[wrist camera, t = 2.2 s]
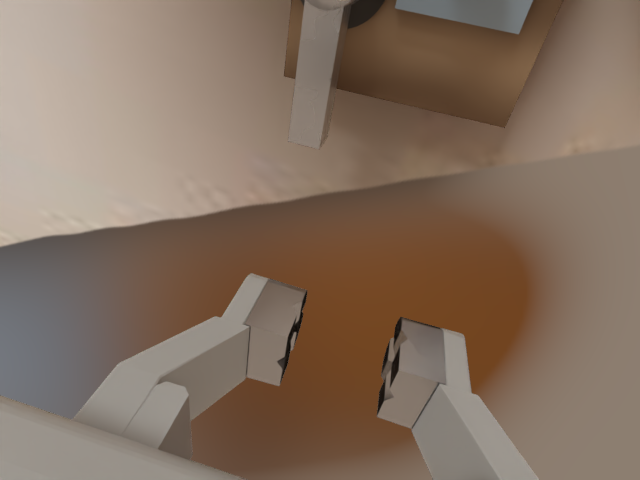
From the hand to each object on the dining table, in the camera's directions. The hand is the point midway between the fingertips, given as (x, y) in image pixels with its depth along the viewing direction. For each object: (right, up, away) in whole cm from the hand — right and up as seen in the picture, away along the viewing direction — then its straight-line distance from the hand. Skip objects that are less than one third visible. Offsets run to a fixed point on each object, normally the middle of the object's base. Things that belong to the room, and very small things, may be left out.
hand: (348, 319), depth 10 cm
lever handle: (0, +12, +11) cm, 17 cm away
